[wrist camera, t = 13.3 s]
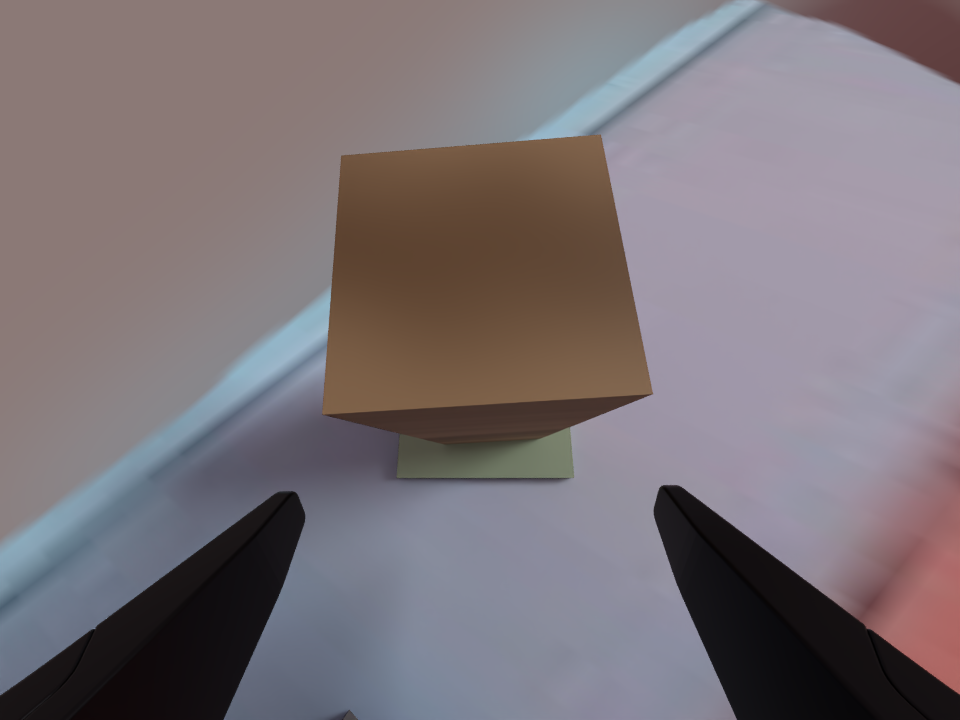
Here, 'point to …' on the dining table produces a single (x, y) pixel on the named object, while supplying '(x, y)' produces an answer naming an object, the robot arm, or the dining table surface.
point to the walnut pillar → (481, 293)
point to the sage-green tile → (487, 458)
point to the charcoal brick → (349, 716)
